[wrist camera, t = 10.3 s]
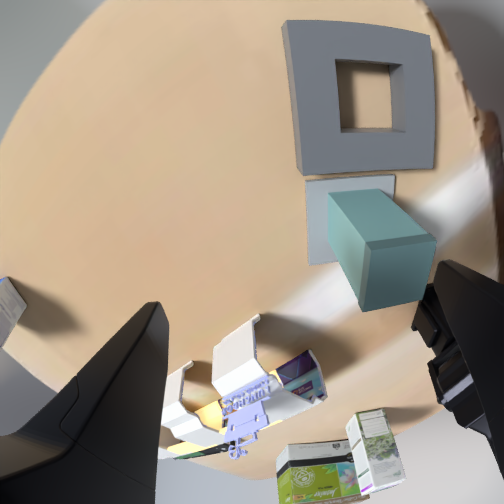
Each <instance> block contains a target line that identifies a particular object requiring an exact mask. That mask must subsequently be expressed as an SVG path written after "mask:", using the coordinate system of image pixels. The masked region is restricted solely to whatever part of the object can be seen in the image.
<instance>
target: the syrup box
mask: <svg viewBox="0 0 504 504" xmlns="http://www.w3.org/2000/svg"><path fill="white" fill-rule="evenodd" d="M346 432H347V435H348V439H349V443H350V446H351V451H352V455H353V459H354V464H355V468H356V473H357V478H358V483H359V487H360V492H361V495H362V496H363V495H367V494H371V493H374V492H378V491H381V490H384V489H388V488H391V487H394V486H396V485H398V484H399V483H401V482H402V481H403V480H405V479H406V476H405V472H404V469H403V466H402V463H401V459H400V456H399V452H398V449H397V446H396V443H395V440H394V437H393V434H392V431H391V428H390V425H389V422H388V419H387V416H386V413H385V410H384V408H381V409H376V410H371V411H366V412H360V413H355V414H354V415H353V417H352V418H351V419H350V421H349V422H348V423H347V425H346Z"/></svg>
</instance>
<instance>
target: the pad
mask: <svg viewBox="0 0 504 504" xmlns="http://www.w3.org/2000/svg"><path fill="white" fill-rule="evenodd" d="M394 180H395V175H393V174H380V175H364V176H350V177H337V178H325V179H314V180H305V191H306V211H307V236H308V264H309V266H310V265H317V264H324V263H331V262H338V259H337V257H336V255H335V253H334V252H333V250H332V248H331V246H330V244H329V242H328V193H330V192H341V191H352V190H364V189H377V188H378V189H379V190H380V191H381V192H383V193H384V194H385V195H386V196H387V197H388V198H390V199H391V200H392V201H393V195H394Z"/></svg>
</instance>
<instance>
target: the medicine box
mask: <svg viewBox="0 0 504 504" xmlns="http://www.w3.org/2000/svg"><path fill="white" fill-rule="evenodd" d="M26 307H27V304H26V303H25V302H24V300H23V299H22V297H21V296H20V295H19V293H18V292H17V290H16V289H15V288H14V286H13V285H12V283H11V282H10V280H9V279H8V277H5V278H3V279H1V280H0V351H1V349H2V347H3V345H4V344H5V342H6V340H7V338H8V337H9V335H10V333H11V331H12V330H13V328H14V327H15V325H16V323H17V322H18V320H19V318H20V317H21V315H22V313H23V312H24V310H25V309H26Z"/></svg>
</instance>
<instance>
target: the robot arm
mask: <svg viewBox="0 0 504 504" xmlns="http://www.w3.org/2000/svg"><path fill="white" fill-rule="evenodd" d="M411 329H412V330H413V331H417V330H418V331H419V333H420V335H421V336H422V338H423V340H424V342H425V343H426V345H427V347H428V348H432V350H433V351H434V353H435V355H436V357H435V358H434V359H433V360H430V361H429V362H428V363H427V365H428V368H429V373H430V376H431V380H432V383H433V386H434V389H435V392H436V396H437V402H438V403H439V404H442V405H444V407H445V408H446V409H447V410H448V411H450V412H453V413H454V416H455V419H456V421H457V423H458V424H459V425H460V426H462V427H464V428H466V429H467V428H470V429H473V430H475V431H477V432H479V433H481V434H483V435H485V436H486V438H487V440H488V442H489V444H490V446H491V449H492V451H493V454H494V456H495V459H496V461H497V464H498V466H499V469H500V472H501V474H502V477H503V479H504V285H502V284H500V283H498V282H496V281H494V280H492V279H490V278H488V277H486V276H484V275H482V274H480V273H478V272H476V271H474V270H472V269H470V268H468V267H465V266H463V265H461V264H459V263H457V262H455V261H453V260H450V259H447V260H442V261H440V262H439V263H438V266H437V270H436V273H435V277H434V282H433V284H429V285H426V288H425V292H424V295H423V298H422V300H419V304H418V307H417V310H416V313H415V317H414V320H413V323H412V326H411ZM168 348H169V322H168V319H167V317H166V314H165V312H164V309H163V307H162V305H161V303H160V302H158V301H156V302H147V303H146V304H145V305H144V306H143V307H142V308H141V309H140V310H139V311H138V312H137V313H136V314H135V315H134V316H133V317H132V318H131V319H130V320H129V321H128V322H127V323H126V324H125V325H124V326H123V327H122V328H121V329H120V330H119V331H118V332H117V333H116V334H115V335H114V336H113V337H112V338H111V339H110V340H109V341H108V342H107V343H106V344H105V345H104V346H103V347H102V348H101V349H100V350H99V351H98V352H97V353H96V354H95V355H94V356H93V357H92V358H91V359H90V360H89V362H88V363H87V364H86V365H85V366H84V367H83V368H82V369H81V370H80V371H79V372H78V373H77V376H74V377H73V378H72V379H71V380H70V382H69V383H68V384H67V385H66V386H65V387H64V388H63V389H62V390H61V391H60V392H59V393H58V394H57V395H56V396H55V397H54V398H53V399H52V400H51V401H50V402H49V403H48V404H46V406H45V407H43V408H42V409H41V410H40V411H39V412H38V413H37V414H36V415H35V416H33V417H32V418H31V419H30V420H29V421H28V422H27V423H26V424H25V425H24V426H23V427H21V428H20V429H19V430H17V431H16V432H14V433H12V434H9V435H5V436H0V504H155V487H156V473H157V460H158V449H159V439H160V429H161V420H162V411H163V403H164V395H165V387H166V380H167V372H168Z"/></svg>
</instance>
